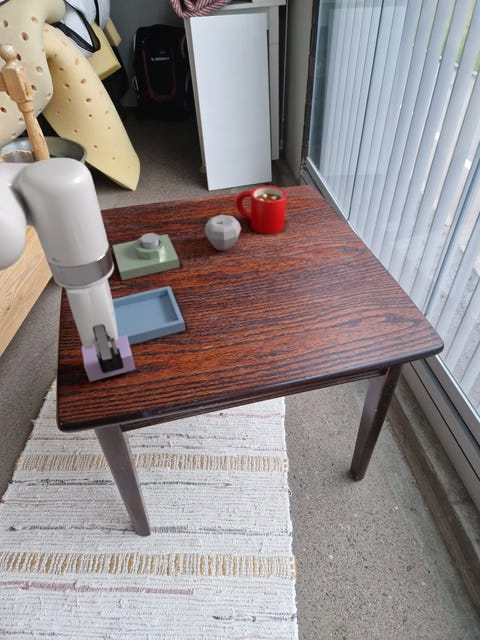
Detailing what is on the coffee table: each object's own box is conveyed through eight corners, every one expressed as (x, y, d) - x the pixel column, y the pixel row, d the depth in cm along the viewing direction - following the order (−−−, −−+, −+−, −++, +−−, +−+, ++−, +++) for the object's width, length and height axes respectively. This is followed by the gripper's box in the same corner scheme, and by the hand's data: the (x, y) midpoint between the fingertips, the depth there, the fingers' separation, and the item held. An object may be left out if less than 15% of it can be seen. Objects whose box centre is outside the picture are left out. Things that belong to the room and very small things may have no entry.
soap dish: (113, 349, 71) (110, 341, 70) (105, 310, 78) (102, 301, 77) (185, 330, 74) (184, 321, 73) (171, 293, 81) (169, 285, 80)
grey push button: (143, 251, 86) (142, 244, 84) (140, 242, 88) (138, 234, 87) (161, 247, 86) (159, 240, 85) (157, 238, 89) (156, 231, 88)
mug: (242, 210, 104) (241, 180, 98) (288, 219, 100) (290, 188, 95) (229, 226, 99) (228, 195, 93) (277, 236, 95) (279, 204, 90)
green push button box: (121, 280, 85) (117, 264, 82) (114, 253, 91) (110, 238, 89) (179, 267, 87) (177, 251, 85) (168, 242, 94) (166, 226, 91)
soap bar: (89, 381, 64) (84, 367, 62) (86, 360, 67) (81, 346, 65) (135, 369, 66) (131, 355, 64) (130, 349, 69) (126, 335, 67)
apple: (204, 237, 95) (202, 211, 91) (239, 234, 96) (238, 208, 91) (206, 258, 90) (204, 231, 85) (243, 255, 90) (243, 228, 86)
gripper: (47, 233, 58) (81, 327, 70) (53, 310, 46) (92, 407, 59) (103, 223, 60) (126, 317, 72) (121, 295, 48) (145, 392, 61)
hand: (110, 356), depth 66 cm, fingers closed on soap bar, 4 cm apart
